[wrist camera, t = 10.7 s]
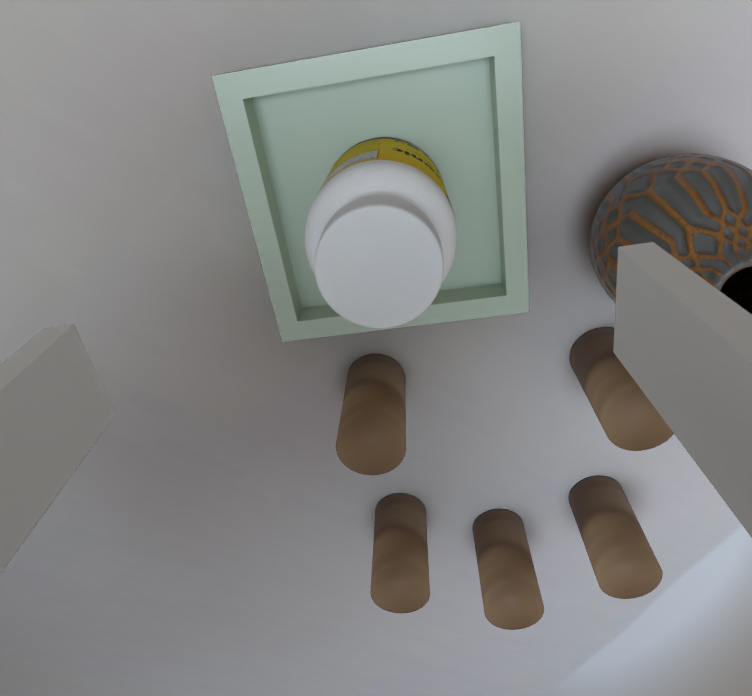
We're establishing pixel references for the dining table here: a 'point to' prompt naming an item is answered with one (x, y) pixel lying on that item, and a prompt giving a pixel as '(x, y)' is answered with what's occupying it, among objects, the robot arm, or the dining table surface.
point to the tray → (388, 119)
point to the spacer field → (503, 527)
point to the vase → (682, 221)
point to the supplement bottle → (381, 233)
